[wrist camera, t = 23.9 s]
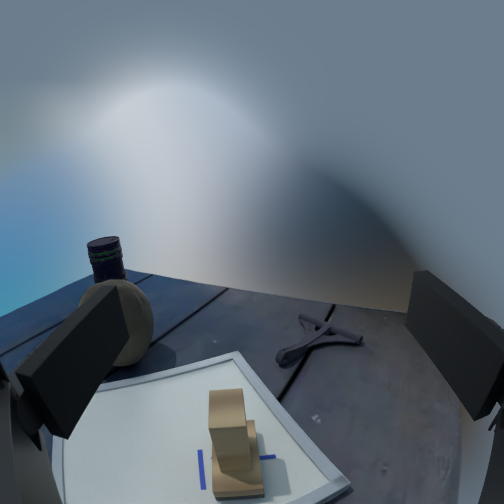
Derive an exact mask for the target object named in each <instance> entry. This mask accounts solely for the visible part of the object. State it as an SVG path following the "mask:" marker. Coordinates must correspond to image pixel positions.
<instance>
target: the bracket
mask: <svg viewBox="0 0 504 504" xmlns="http://www.w3.org/2000/svg"><path fill="white" fill-rule="evenodd" d="M298 319H299V321H300V322H301V323H302V324H303V326H304V328H305V332H306V334H305V336H304V338H303V340H302V341H301V342H299V343H297V344H295V345H292V346H289V347H286V348H282V349H280V350H279V351H278V353H277V355H276V362H278V363H279V364H281V365H286V364H288V363H289V362H291V361H292V360H294V359H295V358H297V357H298V356H300V355H301V354H303V353H304V352H305V351H307V350H308V349H310V348H311V347H313V346H315V345H318V344H323V343H331V342H345V343H354V344H355V343H357V344H361V342H362V340H363V336H361V335H358V334H356V333H353V332H350V331H348V330H345V329H342V328H340V327H337V326H335V325H332V324H329V323H327V322H324V321H322V320H319V319H317V318H314V317H312V316H309V315H307V314H304V313H300V315H299V318H298ZM316 327H317V328H320V329H319V330H318V331H315V328H316ZM329 334H334V335H333V336H328V335H329Z"/></svg>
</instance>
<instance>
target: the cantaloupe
mask: <svg viewBox="0 0 504 504" xmlns="http://www.w3.org/2000/svg"><path fill="white" fill-rule="evenodd" d="M102 285H117V289H118V293H119V297H120V302H121V306H122V310H123V314H124V318H125V322H126V325H127V329H128V333H129V336H130V338H129V340H128V342H127V343H126V345H125V346H124V348H123V349H122V351H121V352H120V354H119V356H118V357H117V359H116V360H115V362H114V363H113V365H112V366H128V365H132V364H135V363H136V362H138V361H139V360H140V359H141V358H142V357H143V356H144V355H145V353H146V352H147V350H148V348H149V346H150V343H151V340H152V335H153V314H152V309H151V306H150V303H149V301H148V299H147V297H146V295H145V294H144V293H143V292H142V291H141V290H140V289H139V288H138V287H137V286H136V285H134V284H133V283H131V282H128V281H125V280H119V279H117V280H107V281H104V282H101V283H97V284H95V285H93V286H91V287H90V288H89V289H88V290H87V291H86V292H85V293H84V295H83V296H82V298H81V300H80V303H79V306H78V307H80V306H81V305H82V304H83V303H84V302H85V301H86V300H87V299H88V298H89V297H90V296H91V295H92V294H93V293H95V292H96V291H97V290H98V289H99V288H100V287H101V286H102Z"/></svg>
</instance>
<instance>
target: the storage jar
mask: <svg viewBox="0 0 504 504" xmlns="http://www.w3.org/2000/svg"><path fill="white" fill-rule="evenodd" d="M87 248H88V255H89V258H90V263H91V265H92V268H93V272H94V281H95V284H97V283H101V282H104V281H107V280H117V279H119V280H125V281H127V275H126V271H125V269H124V266H123V261H122V257H123V256H122V249H121V246H120V242H119V237H116V236H111V237H104V238H99V239H96V240H93V241H91V242H89V243H87Z"/></svg>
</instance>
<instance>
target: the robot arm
mask: <svg viewBox="0 0 504 504" xmlns="http://www.w3.org/2000/svg"><path fill="white" fill-rule="evenodd" d="M405 326H406V327H407V329H408V330H409V331H410V332H411V334H412V335H413V336H414V338H415V339H416V340H417V341H418V343H419V344H420V345H421V347H422V348H423V349H424V351H425V352H426V353H427V355H428V356H429V357H430V359H431V360H432V361H433V363H434V364H435V366H436V367H437V368H438V370H439V371H440V372H441V374H442V375H443V377H444V378H445V379H446V381H447V382H448V384H449V385H450V386H451V388H452V389H453V391H454V392H455V394H456V395H457V396H458V398H459V399H460V401H461V402H462V404H463V405H464V407H465V408H466V410H467V411H468V413H469V414H470V416H471V417H472V419H473V420H474V421H476V420H478V419H481V418H483V417H485V416H487V415H489V414H490V413H491V411H492V409H493V407H494V406H495V404H496V402H498V403H499V405H500V406H501V408H500V410H499V411H498V413H497V415H496V416H495V418H494V420H493V421H492V423H491V425H490V427H489V429H488V430H489V431H491V429H492V428H493V426H494V425H495V424H496V427H495V430H494V432H495V434H494V440H493V446H492V451H491V456H490V461H489V466H488V470H487V474H486V478H485V482H484V486H483V489H482V492H481V496H480V499H479V502H478V504H504V329H501V327H500V326H499V325H498V324H497V323H496V322H495V321H493V320H492V319H489V318H488V317H486V316H484V315H483V314H482V313H481V312H479V311H478V310H477V309H476V308H475V307H473V306H472V305H471V304H470V303H469V302H467V301H466V300H465V299H464V298H462V297H461V296H460V295H459V294H458V293H456V292H455V291H454V290H452V289H451V288H450V287H449V286H447V285H446V284H445V283H443V282H442V281H441V280H440V279H438V278H437V277H436V276H434V275H433V274H432V273H430V272H429V271H428V270H426V271H415V272H414V274H413V281H412V288H411V295H410V301H409V307H408V312H407V317H406V322H405ZM129 338H130V336H129V333H128V329H127V325H126V322H125V318H124V314H123V310H122V306H121V302H120V297H119V293H118V289H117V285H102V286H101V287H100V288H99V289H98V290H97V291H96V292H95V293H93V294H92V295H91V296H90V297H89V298H88V299H87V300H86V301H85V302H84V303H83V304H82V305H81V306H80V307H78V308H77V309H76V310H75V311H74V312H73V313H72V314H71V315H70V316H69V317H68V318H67V319H66V320H65V321H64V322H63V323H62V324H61V325H60V326H59V327H58V328H57V329H56V330H55V331H54V332H53V333H52V334H51V335H50V336H49V337H48V338H46V339H45V340H43V341H41V342H40V343H39V344H38V345H37V346H36V347H35V348H34V349H33V351H31V352H30V353H29V354H28V357H25V358H24V359H23V361H22V362H21V363H20V364H19V365H18V366H17V367H16V368H15V369H14V370H13V371H12V372H11V373H10V374H9V376H8V375H7V373H6V371H5V369H4V367H3V365H2V363H1V361H0V504H63V503H62V500H61V497H60V494H59V491H58V488H57V485H56V482H55V479H54V475H53V472H52V468H51V464H50V460H49V456H48V452H47V448H46V444H45V439H44V435H43V433H42V432H41V430H40V428H41V426H42V425H43V423H44V424H45V426H46V427H47V429H48V430H49V432H50V433H51V434H52V435H55V436H58V437H61V438H64V439H67V440H68V439H69V437H70V435H71V434H72V432H73V430H74V428H75V427H76V425H77V423H78V421H79V420H80V418H81V416H82V414H83V413H84V411H85V409H86V408H87V406H88V404H89V403H90V401H91V399H92V398H93V396H94V394H95V393H96V391H97V389H98V388H99V386H100V384H101V383H102V381H103V379H104V378H105V376H106V375H107V373H108V371H109V370H110V368H111V367H112V365H113V363H114V362H115V360H116V359H117V357H118V356H119V354H120V352H121V351H122V349H123V348H124V346H125V345H126V343H127V342H128V340H129Z"/></svg>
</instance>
